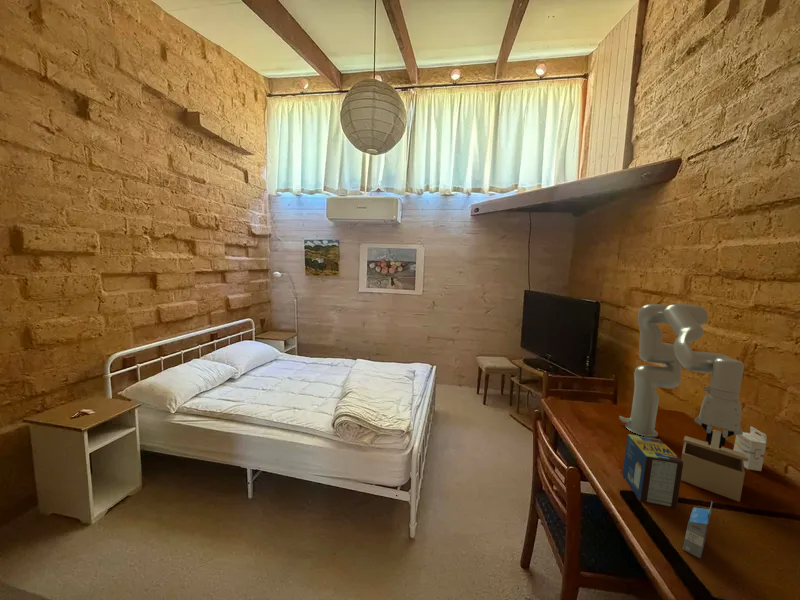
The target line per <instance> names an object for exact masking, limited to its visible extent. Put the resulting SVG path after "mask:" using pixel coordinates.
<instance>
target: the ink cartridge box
mask: <svg viewBox="0 0 800 600" xmlns="http://www.w3.org/2000/svg"><path fill="white" fill-rule="evenodd" d="M749 428H750V429H749V432H744V431H742V432H743V434H742V435H735V439H734V443H733V445H734V446H733V450H735V451H738V452H741V453H744V454H745V456H746V457H747V458H748V462H747V461H744V460H743V463H744V469H746V470H751V471H758V472H762V469H763V464H764V458H765V455H766V447H767V435H766V433H764V432H762V431H760V430H758V429H757V428H755V427H753V426H752V425H751V426H750V427H749ZM757 433H758V434H757Z"/></svg>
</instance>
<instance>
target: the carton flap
mask: <svg viewBox="0 0 800 600" xmlns="http://www.w3.org/2000/svg"><path fill="white" fill-rule="evenodd" d="M712 432H713V435H712V441H711V445H708V441H704V440H700V439H698V438H694V437H690V436H687V435H684V437H683V443H684V442H686V443H689V444H692V445H695V446H699V447H702V448H705V449H708V450H711V451H715V452H718V453H721V454H724V455H728V456H731V457H734V458H737V459H741V460H744V461H747V462H748V458H747V457H746V456H745V454H744V453H741V452H738V451H735V450H734V449H731V448H727V447H725V446H722V447H721V448H719V443H720V437H721V433H722V431H720V430H716V429H713V430H712Z"/></svg>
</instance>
